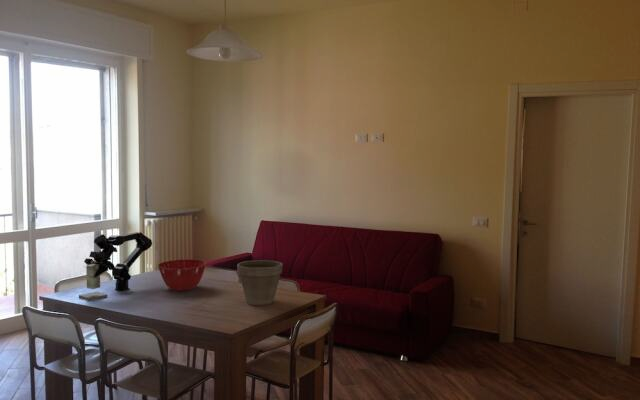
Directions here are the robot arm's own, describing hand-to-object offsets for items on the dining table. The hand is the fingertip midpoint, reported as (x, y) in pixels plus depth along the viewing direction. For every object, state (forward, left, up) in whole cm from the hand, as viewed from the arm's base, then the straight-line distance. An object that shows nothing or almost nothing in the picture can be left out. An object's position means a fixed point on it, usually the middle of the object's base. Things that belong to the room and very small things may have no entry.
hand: (91, 276), depth 310 cm
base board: (-1, -1, -12) cm, 13 cm away
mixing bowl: (-47, +20, -13) cm, 53 cm away
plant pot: (-54, +79, -13) cm, 97 cm away
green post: (-1, 0, -7) cm, 7 cm away
